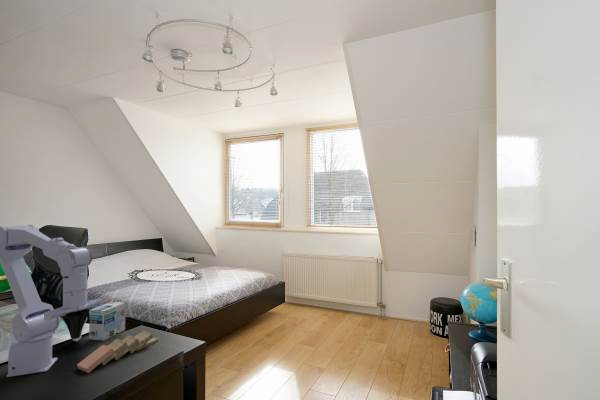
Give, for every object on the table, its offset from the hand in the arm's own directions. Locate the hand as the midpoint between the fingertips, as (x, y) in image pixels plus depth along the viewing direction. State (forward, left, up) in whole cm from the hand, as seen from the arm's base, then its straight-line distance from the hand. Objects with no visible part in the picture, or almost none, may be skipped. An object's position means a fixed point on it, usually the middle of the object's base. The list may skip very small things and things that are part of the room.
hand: (75, 337), depth 89 cm
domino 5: (+13, +12, -10) cm, 21 cm away
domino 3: (+8, +7, -10) cm, 14 cm away
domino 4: (+11, +10, -10) cm, 18 cm away
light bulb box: (+2, +30, -11) cm, 31 cm away
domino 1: (+2, +1, -10) cm, 10 cm away
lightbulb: (-7, +27, -11) cm, 29 cm away
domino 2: (+5, +5, -10) cm, 12 cm away
